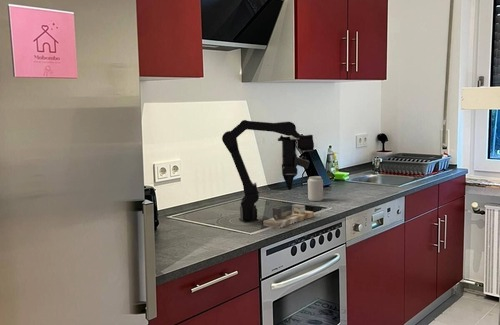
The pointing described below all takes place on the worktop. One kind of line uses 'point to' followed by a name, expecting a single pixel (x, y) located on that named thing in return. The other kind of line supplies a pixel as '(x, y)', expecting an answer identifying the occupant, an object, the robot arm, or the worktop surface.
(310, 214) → the door jamb
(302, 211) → the keeper
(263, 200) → the worktop surface
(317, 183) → the can
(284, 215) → the bolt
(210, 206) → the worktop surface
